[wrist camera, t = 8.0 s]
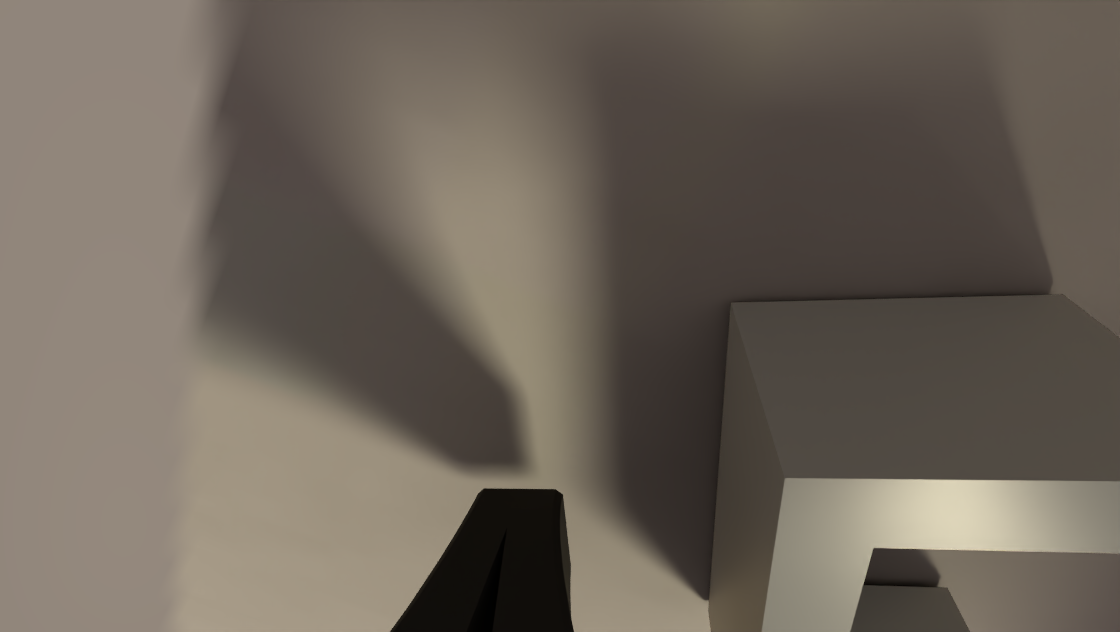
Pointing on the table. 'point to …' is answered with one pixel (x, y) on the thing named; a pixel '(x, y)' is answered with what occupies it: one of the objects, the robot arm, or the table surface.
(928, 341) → the cap
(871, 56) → the table surface
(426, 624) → the robot arm
